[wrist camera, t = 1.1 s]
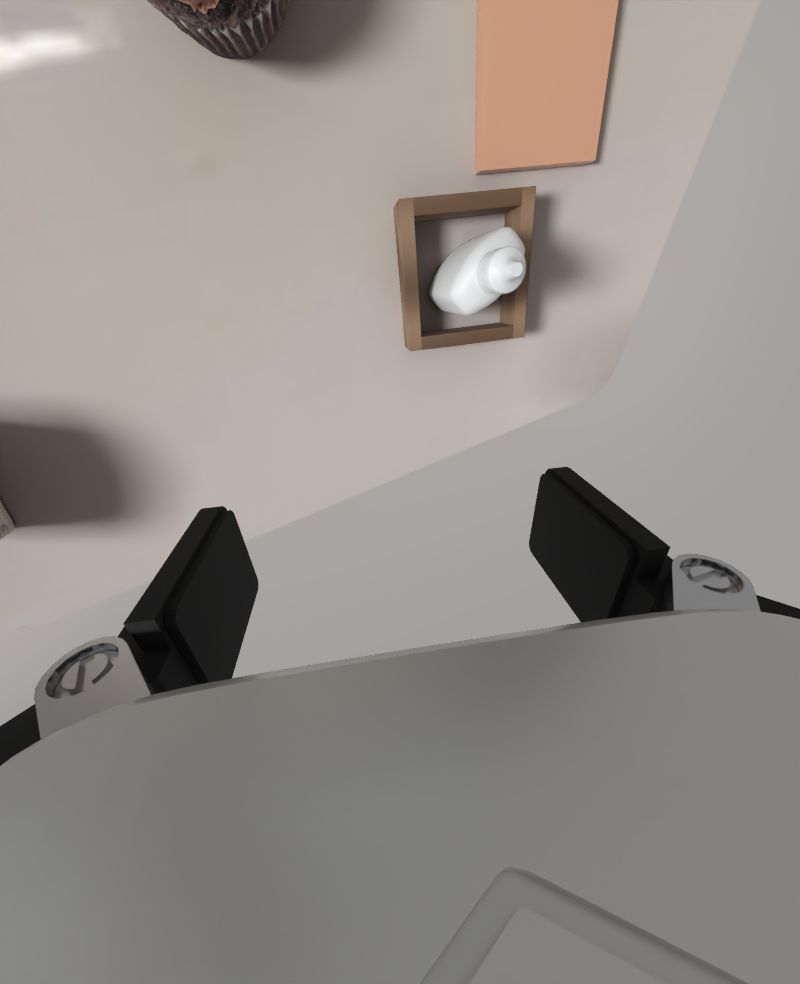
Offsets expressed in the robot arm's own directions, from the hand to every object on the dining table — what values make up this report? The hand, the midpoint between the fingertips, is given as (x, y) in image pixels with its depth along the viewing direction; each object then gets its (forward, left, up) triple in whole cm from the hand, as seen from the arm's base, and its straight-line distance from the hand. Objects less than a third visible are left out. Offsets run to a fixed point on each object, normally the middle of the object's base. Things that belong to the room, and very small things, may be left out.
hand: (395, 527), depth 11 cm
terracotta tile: (-18, +15, -25) cm, 34 cm away
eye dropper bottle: (-7, +9, -26) cm, 28 cm away
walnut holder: (-7, +9, -25) cm, 28 cm away
